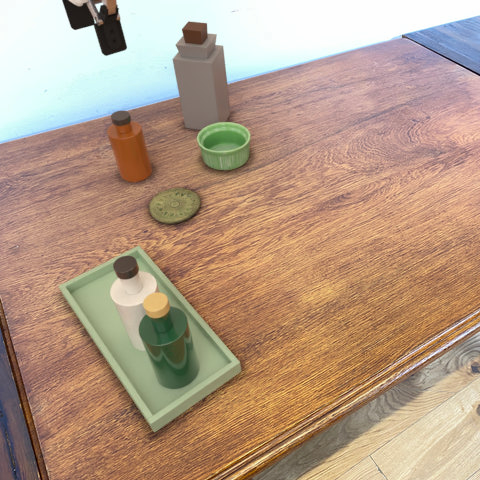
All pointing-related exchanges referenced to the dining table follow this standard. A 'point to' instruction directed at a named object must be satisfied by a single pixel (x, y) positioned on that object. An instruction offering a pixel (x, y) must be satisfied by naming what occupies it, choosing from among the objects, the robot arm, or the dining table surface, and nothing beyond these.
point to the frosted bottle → (131, 296)
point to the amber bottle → (129, 147)
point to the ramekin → (224, 145)
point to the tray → (137, 362)
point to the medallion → (174, 205)
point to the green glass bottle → (168, 342)
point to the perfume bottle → (201, 77)
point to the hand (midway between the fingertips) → (98, 39)
